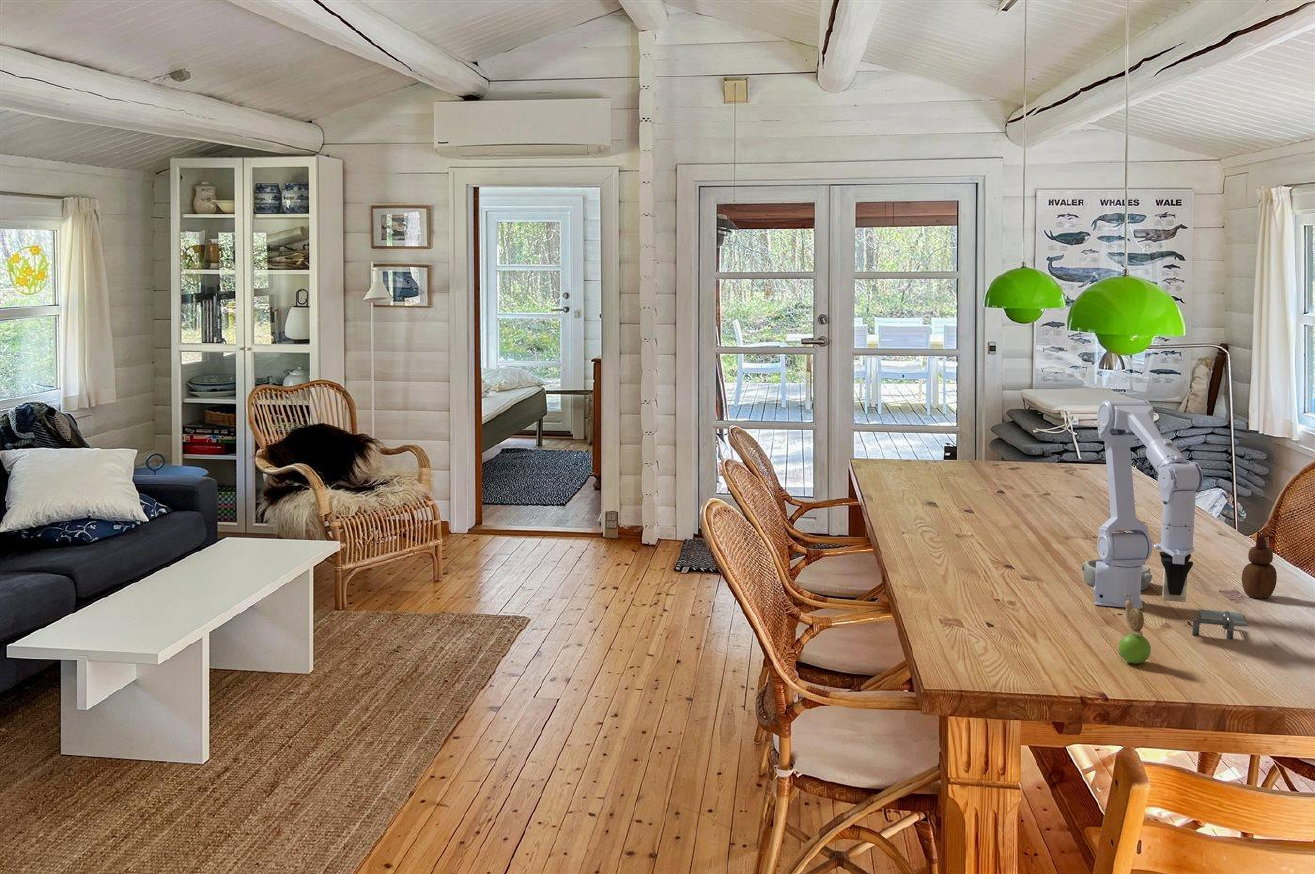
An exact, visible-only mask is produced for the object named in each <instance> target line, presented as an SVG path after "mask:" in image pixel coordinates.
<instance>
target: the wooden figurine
mask: <svg viewBox="0 0 1315 874" xmlns="http://www.w3.org/2000/svg"><path fill="white" fill-rule="evenodd" d="M1247 558H1248V561H1249V562H1250V563H1247V564H1246V565H1245V566H1244V568H1242V573H1241V585H1242V589H1243V591H1244V593H1245V595H1247V596H1248V597H1249V598H1253V599H1258V600H1260V599H1268V598H1270V597H1271V596H1272V595H1273V593H1274V591H1275V588H1276V586H1277V581H1278V580H1277V577H1278V576H1277V575H1278V574H1277V569H1276V567H1275V566H1274V565H1273V564H1272V562H1273V558H1274V552H1273V550H1272V549H1271V548H1270V547H1267V539H1265V536H1263V532H1260V531H1259V530H1258V531H1257V532H1256V540H1255V546H1252V547H1250V549H1249V551H1248V554H1247Z"/></svg>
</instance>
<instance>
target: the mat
mask: <svg viewBox="0 0 1315 874" xmlns="http://www.w3.org/2000/svg"><path fill="white" fill-rule="evenodd" d="M1225 611H1226V610H1225ZM1225 611H1224V610H1215V609H1214V610H1211V609H1201V608H1198V612H1199V615H1200V618H1205V619H1217V620H1223V613H1224V612H1225ZM1228 612H1229V613H1230V616H1231V618H1232V621H1233V622H1234V626H1235V625H1236V626H1246V627H1247V622H1246V619H1245V617H1244V615H1243V613H1242V612H1237V611H1235V612H1234V611H1228Z"/></svg>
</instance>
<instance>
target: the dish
mask: <svg viewBox="0 0 1315 874" xmlns="http://www.w3.org/2000/svg"><path fill="white" fill-rule="evenodd" d="M1097 561H1100V562H1103V560H1102V559H1101V558H1096V559H1095V558H1094V559H1090V560H1089V559H1088V560H1087V561H1084V562H1083V563H1082V565H1081V570H1082V571H1083V579H1084V582H1085V583H1086V584H1087V585H1089V586H1091V587H1094V586H1095V578H1096V562H1097ZM1152 580H1153V575H1152V574H1151V568H1150V566H1149V565H1146V564H1145V565H1142V573H1141V591H1144V590H1146V589H1147V588H1148V587H1149V585H1150V583H1151V581H1152Z"/></svg>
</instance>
